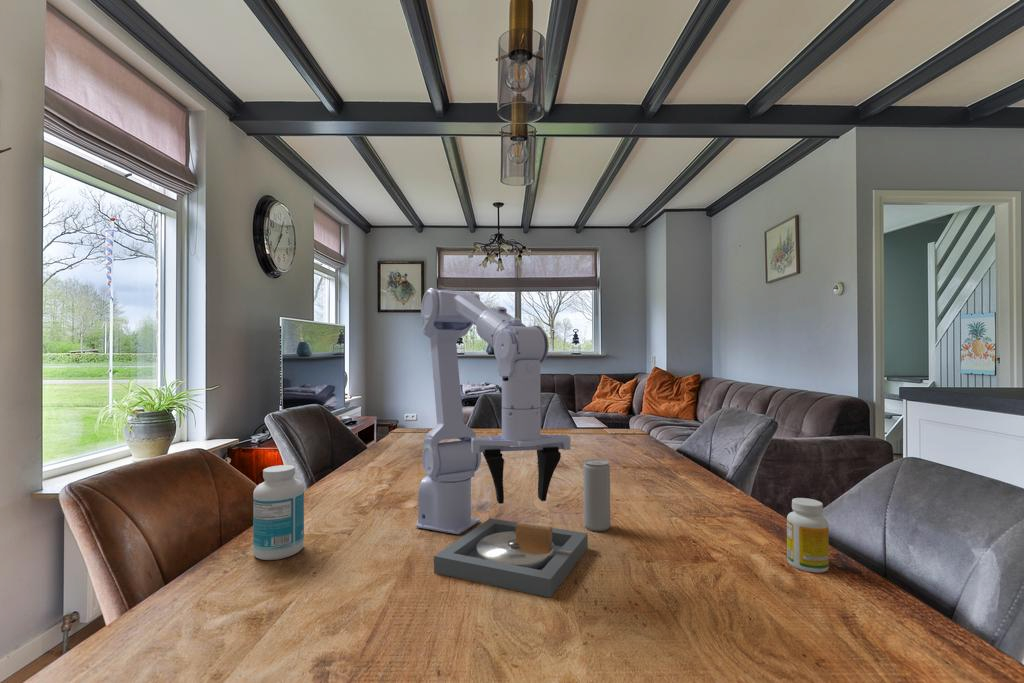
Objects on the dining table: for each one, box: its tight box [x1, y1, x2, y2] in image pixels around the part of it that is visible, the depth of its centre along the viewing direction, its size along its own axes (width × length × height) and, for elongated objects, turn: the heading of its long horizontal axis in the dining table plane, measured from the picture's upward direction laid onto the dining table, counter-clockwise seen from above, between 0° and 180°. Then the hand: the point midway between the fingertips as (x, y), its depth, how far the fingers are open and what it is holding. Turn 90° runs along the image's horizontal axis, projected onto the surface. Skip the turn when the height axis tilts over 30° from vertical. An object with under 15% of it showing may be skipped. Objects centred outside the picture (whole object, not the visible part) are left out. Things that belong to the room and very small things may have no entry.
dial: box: [477, 521, 554, 569], centre depth 75 cm, size 12×12×5 cm
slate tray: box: [433, 517, 589, 599], centre depth 75 cm, size 18×18×3 cm
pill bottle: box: [252, 464, 305, 561], centre depth 78 cm, size 8×7×14 cm
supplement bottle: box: [786, 497, 830, 574], centre depth 73 cm, size 5×5×10 cm
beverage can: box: [582, 458, 611, 532], centre depth 89 cm, size 5×5×12 cm
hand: (521, 500), depth 71 cm, fingers open, 6 cm apart
